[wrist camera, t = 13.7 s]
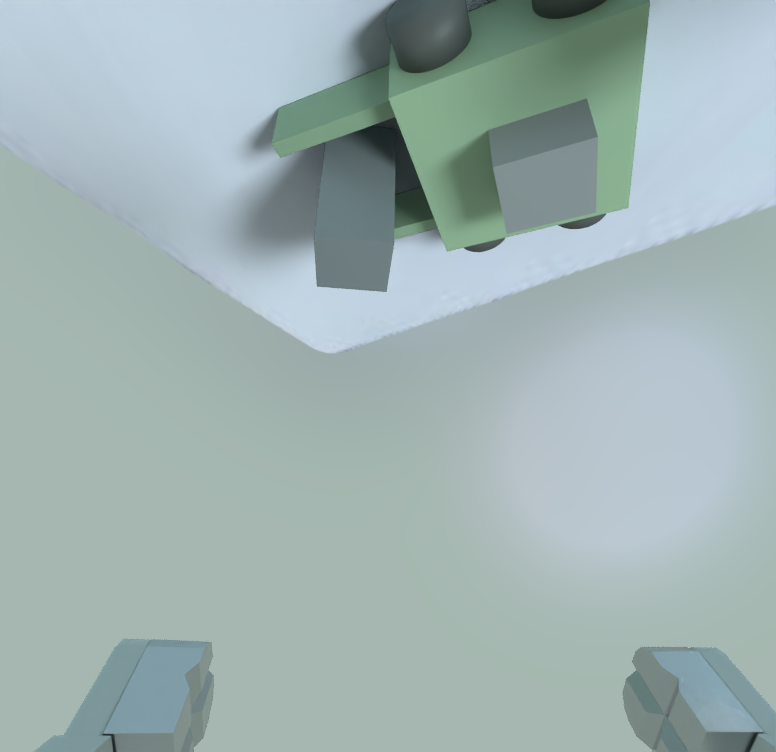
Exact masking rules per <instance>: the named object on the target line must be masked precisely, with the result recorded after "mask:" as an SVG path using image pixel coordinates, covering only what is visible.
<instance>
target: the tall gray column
mask: <svg viewBox="0 0 776 752" xmlns="http://www.w3.org/2000/svg"><path fill="white" fill-rule="evenodd" d="M395 165H396V129H392V128H383V127H373V126H369V127H366V128H364V129H361V130H358V131H355V132H352V133H349V134H347V135H344V136H341V137H338V138H335V139H332V140H329V141H327V142H326V143H325V151H324V159H323V167H322V175H321V183H320V191H319V199H318V207H317V215H316V223H315V231H314V247H315V263H316V279H317V286H318V287H331V288H344V289H356V290H369V291H382V292H386V291H387V285H388V278H389V272H390V266H391V259H392V253H393V246H394V218H395Z"/></svg>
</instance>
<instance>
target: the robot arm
mask: <svg viewBox="0 0 776 752" xmlns="http://www.w3.org/2000/svg"><path fill="white" fill-rule="evenodd" d="M212 657H213V655H212V643H211V642H200V641H178V640H154V639H153V640H145V639H123V640H122V641H121V642H120V643H119V644H118V645H117V646H116V647H115V648H114V650H113V651H112V653H111V655H110V657H109V658H108V660H107V662H106V664H105V665H104V667H103V669H102V670H101V672H100V674H99V676H98V677H97V679H96V681H95V682H94V684H93V686H92V688H91V689H90V691H89V693H88V695H87V696H86V698H85V700H84V701H83V703H82V705H81V706H80V708H79V710H78V712H77V713H76V715H75V717H74V718H73V720H72V722H71V724H70V725H69V727H68V729H67V731H66V732H65V734H64V735H61V736H60V735H59V736H53V737H51V738H50V739H49V740H48V741H46V742H45V743H44V744H43V745H41V746H40V747H39V748H38V749H36V750H35V751H34V752H194V747H195V746H196V745H197V744H198V743H199V742H200V741H201V739H203V737H204V733H205V730H206V727H207V723H208V720H209V715H210V710H211V705H212V699H213V687H214V679H213V675H212V674H211V673H210V671H209V670H208V669H209V666H210V663H211V660H212ZM632 662H633V664H634V666H635V668H636V671H635V672H634V673H633V674H631V675H630V676H629V677H628V678H627V679H626V682H625V686H624V690H623V699H624V707H625V711H626V714H627V717H628V720H629V722H630V724H631V726H632V728H633V730H634V732H635V734H636V736H637V737H638V738H639V739H641V740H642V741H643V742H644V743H645V744H646V745H648V746H649V747H650V748H651V749H652V752H776V712H775V711H774V710H773V709H772V708H771V706H770V705H769V704H768V703H767V702H766V701H765V699H763V697H762V696H761V695H760V694H759V692H758V691H757V690H756V689H755V688H754V687H753V686H752V684H751V683H750V682H749V681H748V680H747V679H746V677H745V676H744V675H743V674H742V673H741V672H740V671H739V669H738V668H737V667H736V666H735V665H734V664H733V663H732V661H731V660H730V659H729V658H728V657H727V655H726V654H724V653H723V652H722V651H720V650H718V649H717V648H695V647H691V648H687V647H641V648H640V649H638V650H637V651H636V652H635V655H634V657H633V660H632Z"/></svg>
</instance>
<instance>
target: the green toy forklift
mask: <svg viewBox="0 0 776 752" xmlns="http://www.w3.org/2000/svg"><path fill="white" fill-rule="evenodd" d="M649 7H650V1H649V0H496V1H494V2H491V3H489V4H486V5H484V6H482V7H479V8H477V9H474V10H472V11H469V12H468V11H467V5H466V0H398V1H397V2H396V3H395V4H394V5H393V6H392V7H391V8H390V10H389V11H388V13H387V15H386V18H385V26H386V29H387V32H388V34H389V37H390V40H391V44H390V64H389V65H387V66H384V67H382V68H379V69H376V70H374V71H371V72H369V73H366V74H364V75H361V76H359V77H356V78H354V79H351V80H349V81H346V82H343V83H341V84H338V85H336V86H333V87H331V88H328V89H326V90H323V91H321V92H318V93H316V94H313V95H311V96H308V97H305V98H303V99H300V100H298V101H295V102H293V103H290V104H288V105H285V106H283V107H280V108H279V110H278V114H277V119H276V124H275V129H274V134H273V138H272V143H271V144H272V146H273V147H274V149H275V150H276V152H277V153H278V155H279V156H280V158H281V157H284V156H287V155H290V154H293V153H295V152H298V151H301V150H304V149H307V148H310V147H312V146H315V145H318V144H321V143H324V142H327V141H329V140H332V139H335V138H338V137H341V136H344V135H347V134H349V133H352V132H355V131H358V130H361V129H364V128H366V127H369V126H372V125H375V124H378V123H381V122H383V121H386V120H389V119H392V118H395V117H396V119H397V122H398V125H399V127H400V130H401V133H402V135H403V138H404V140H405V143H406V146H407V148H408V151H409V154H410V156H411V159H412V161H413V164H414V167H415V169H416V172H417V175H418V177H419V180H420V182H421V185H422V187H421V188H417V189H414V190H410V191H407V192H404V193H400V194H397V195H395V218H394V239H397V238H401V237H405V236H409V235H413V234H417V233H421V232H424V231H428V230H432V229H436V228H438V230H439V232H440V235H441V237H442V240H443V243H444V245H445V248H446V250H447V251H451V250H455V249H460V248H465V249H466V250H469V251H472V252H483V251H487V250H490V249H492V248H494V247H496V246H498V245H499V244H500V243H501V242H502V241H503V240H504V239H505V238H506V237H510V236H514V235H518V234H522V233H526V232H530V231H535V230H539V229H543V228H547V227H551V226H555V225H559V226H561V227H564V228H568V229H581V228H585V227H589V226H591V225H593V224H595V223H597V222H599V221H600V220H601V219H602V218H603V217H604V216H605V215H606V213H609V212H614V211H618V210H622V209H626V208H628V205H629V195H630V186H631V176H632V167H633V158H634V148H635V139H636V129H637V120H638V110H639V101H640V92H641V82H642V73H643V63H644V54H645V44H646V35H647V26H648V16H649Z"/></svg>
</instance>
